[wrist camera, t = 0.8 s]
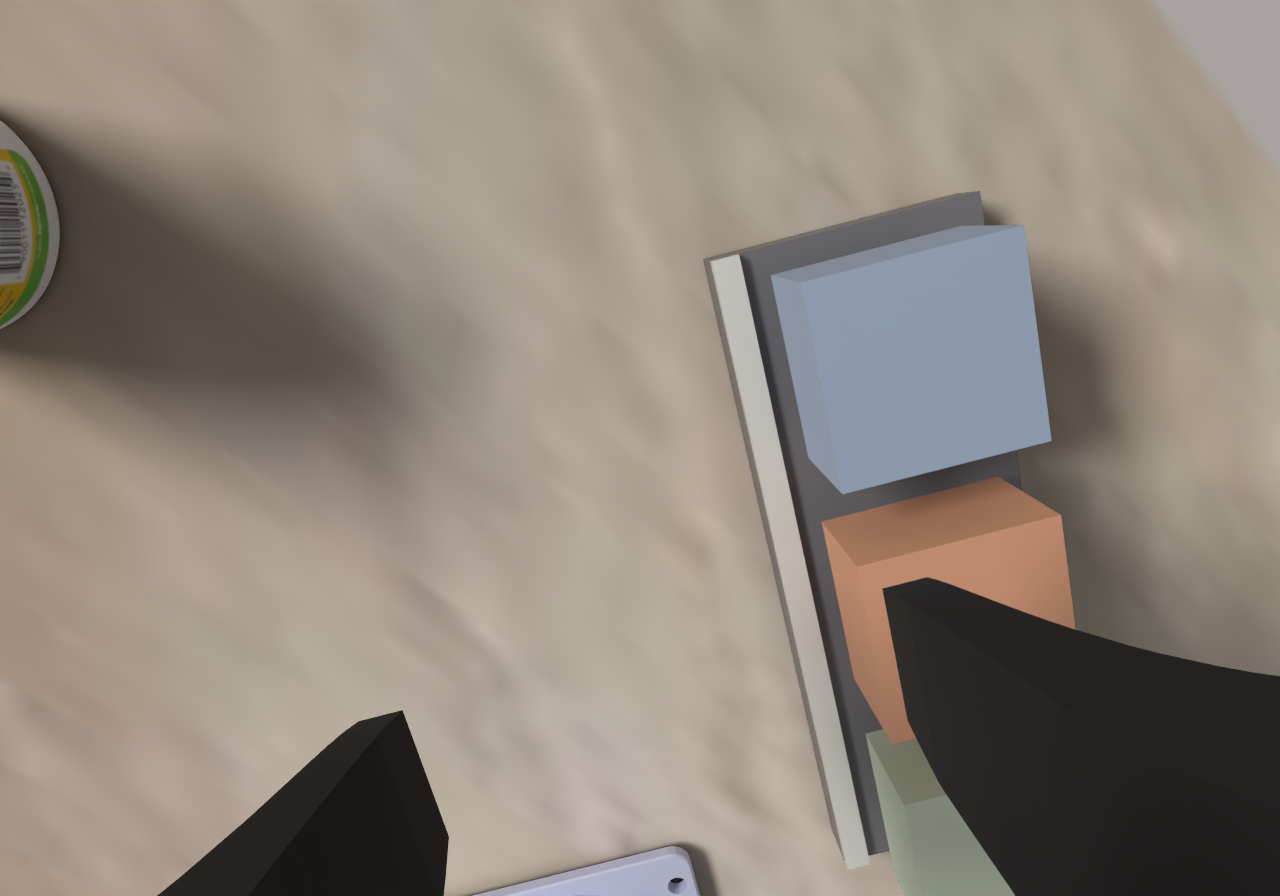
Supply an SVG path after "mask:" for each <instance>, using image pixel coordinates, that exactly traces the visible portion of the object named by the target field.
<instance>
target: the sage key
mask: <svg viewBox="0 0 1280 896" xmlns="http://www.w3.org/2000/svg"><path fill="white" fill-rule="evenodd" d="M866 739H867V743H868V748H869V753H870V758H871V763H872V768H873V772H874V777H875V782H876V787H877V792H878V797H879V801H880V806H881V811H882V816H883V821H884V826H885V830H886V835H887V840H888V845H889V850H890V855H891V860H892V864H893V869H894V872H895V874H896V876H897V878H898V881H899V883H900V885H901V887H902V889H903V891H904V893H905V896H1015V895H1014V893H1013V892H1012V890H1011V889H1010V887H1009V886H1008V884H1007V883H1006V881H1005V880H1004V878H1003V877H1002V876H1001V874H1000V873H999V871H998V870H997V868H996V867H995V865H994V864H993V862H992V861H991V860H990V858H989V857H988V855H987V854H986V852H985V851H984V849H983V848H982V846H981V845H980V844H979V842H978V841H977V839H976V838H975V836H974V835H973V833H972V832H971V830H970V829H969V827H968V826H967V824H966V823H965V822H964V820H963V819H962V817H961V816H960V814H959V813H958V811H957V810H956V808H955V807H954V805H953V804H952V802H951V801H950V799H949V798H948V796H947V795H946V793H945V792H944V790H943V789H942V787H941V786H940V784H939V782H938V780H937V778H936V776H935V774H934V772H933V771H932V769H931V767H930V765H929V763H928V761H927V759H926V757H925V755H924V753H923V751H922V749H921V747H920V745H919V743H918V741H917V739H912V740H908V741H904V742H900V743H896V744H891V742H890V740H889V738H888V737H887V735H886V733H885V731H884V730H883V729H882V730H878V731H874V732H870V733H866Z"/></svg>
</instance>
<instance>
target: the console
mask: <svg viewBox="0 0 1280 896" xmlns="http://www.w3.org/2000/svg"><path fill="white" fill-rule="evenodd" d="M959 226H985V224H984V217H983V210H982V203H981V196H980V191H977V192H967V193H957V194H953V195H949V196H945V197H942V198H938V199H934V200H930V201H926V202H922V203H918V204H915V205H911V206H907V207H903V208H899V209H895V210H891V211H888V212H884V213H880V214H876V215H872V216H868V217H864V218H861V219H857V220H853V221H849V222H845V223H841V224H837V225H834V226H830V227H826V228H822V229H818V230H814V231H810V232H807V233H803V234H799V235H795V236H791V237H787V238H783V239H779V240H776V241H772V242H768V243H764V244H760V245H756V246H752V247H749V248H745V249H741V250H737V251H733V252H729V253H725V254H722V255H718V256H714V257H710V258H706V259H703V261H704V265H705V270H706V274H707V278H708V283H709V287H710V292H711V296H712V301H713V305H714V309H715V314H716V318H717V323H718V327H719V332H720V336H721V340H722V345H723V349H724V354H725V358H726V362H727V367H728V371H729V376H730V380H731V385H732V389H733V393H734V398H735V402H736V407H737V411H738V416H739V420H740V424H741V429H742V433H743V438H744V442H745V446H746V451H747V455H748V460H749V464H750V469H751V473H752V477H753V482H754V486H755V491H756V495H757V500H758V504H759V508H760V513H761V517H762V522H763V526H764V531H765V535H766V539H767V544H768V548H769V553H770V557H771V561H772V566H773V570H774V575H775V579H776V584H777V588H778V592H779V597H780V601H781V606H782V610H783V615H784V619H785V623H786V628H787V632H788V637H789V641H790V645H791V650H792V654H793V659H794V663H795V668H796V672H797V676H798V681H799V685H800V690H801V694H802V699H803V703H804V707H805V712H806V716H807V721H808V725H809V729H810V734H811V738H812V743H813V747H814V752H815V756H816V760H817V765H818V769H819V774H820V778H821V783H822V787H823V791H824V796H825V800H826V805H827V809H828V813H829V818H830V822H831V827H832V831H833V833H834V836H835V838H836V841H837V844H838V846H839V849H840V851H841V854H842V856H843V859H844V861H845V864H846V866H847V869H848V870H850V869H854V868H858V867H862V866H866V865H870V861H869V855H873V854H877V853H881V852H885V851H889V845H888V840H887V835H886V830H885V826H884V821H883V816H882V811H881V806H880V801H879V797H878V792H877V787H876V782H875V777H874V772H873V768H872V763H871V758H870V753H869V748H868V743H867V739H866V733H870V732H874V731H878V730H882V729H883V728H882V726H881V724H880V723H879V721H878V719H877V718H876V716H875V714H874V712H873V711H872V709H871V707H870V705H869V704H868V702H867V700H866V698H865V697H864V695H863V693H862V692H861V690H860V688H859V686H858V685H857V683H856V681H855V679H854V676H853V671H852V666H851V661H850V656H849V652H848V647H847V642H846V637H845V632H844V627H843V623H842V618H841V613H840V608H839V603H838V598H837V594H836V589H835V584H834V579H833V574H832V569H831V565H830V560H829V555H828V550H827V545H826V540H825V536H824V531H823V526H822V521H826V520H830V519H833V518H837V517H841V516H845V515H849V514H853V513H857V512H861V511H865V510H869V509H873V508H877V507H881V506H885V505H888V504H892V503H896V502H900V501H904V500H908V499H912V498H916V497H920V496H924V495H928V494H932V493H936V492H939V491H943V490H947V489H951V488H955V487H959V486H963V485H967V484H971V483H975V482H979V481H983V480H987V479H991V478H994V477H1000V478H1001V479H1003V480H1005V481H1006V482H1008V483H1010V484H1011V485H1013V486H1015V487H1016V488H1018V489H1019V490H1021V491H1022V489H1021V482H1020V475H1019V467H1018V460H1017V453H1016V450H1014V451H1010V452H1007V453H1003V454H999V455H995V456H991V457H987V458H983V459H979V460H975V461H971V462H967V463H963V464H959V465H956V466H952V467H948V468H944V469H940V470H936V471H932V472H928V473H924V474H920V475H916V476H912V477H908V478H905V479H901V480H897V481H893V482H889V483H885V484H881V485H877V486H873V487H869V488H865V489H861V490H857V491H854V492H850V493H846V494H842V493H841V492H840V491H839V490H838V489H837V488H836V487H835V486H834V485H833V484H832V483H831V482H830V481H829V479H828V478H827V477H826V476H825V475H824V474H823V473H822V472H821V471H820V470H819V469H818V468H817V467H816V466H815V464H814V463H813V462H812V461H811V460H810V459H809V458H808V453H807V448H806V444H805V439H804V434H803V429H802V424H801V419H800V415H799V410H798V405H797V400H796V395H795V390H794V386H793V381H792V376H791V371H790V366H789V361H788V357H787V352H786V347H785V342H784V337H783V332H782V328H781V323H780V318H779V313H778V308H777V303H776V299H775V294H774V289H773V284H772V279H771V275H773V274H777V273H781V272H785V271H789V270H793V269H796V268H800V267H804V266H808V265H812V264H816V263H820V262H824V261H827V260H831V259H835V258H839V257H843V256H847V255H851V254H854V253H858V252H862V251H866V250H870V249H874V248H878V247H882V246H885V245H889V244H893V243H897V242H901V241H905V240H909V239H912V238H916V237H920V236H924V235H928V234H932V233H936V232H940V231H943V230H947V229H951V228H955V227H959Z"/></svg>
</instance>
